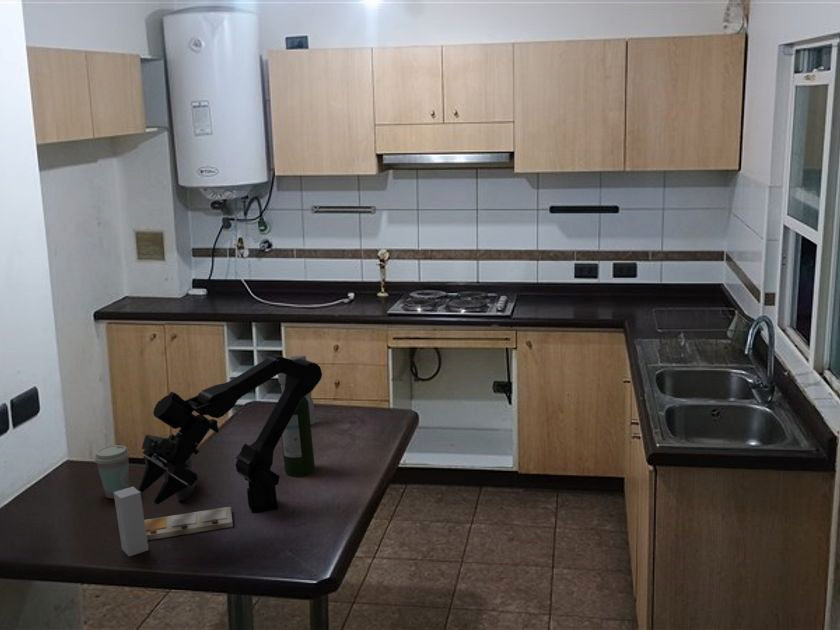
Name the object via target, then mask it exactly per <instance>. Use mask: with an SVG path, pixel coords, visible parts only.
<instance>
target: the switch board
mask: <svg viewBox="0 0 840 630" xmlns="http://www.w3.org/2000/svg"><path fill="white" fill-rule="evenodd" d="M144 521H145V528H146V535H147V541H151V540H157V539H165V538H170V537H171V538H172V537H176V536H181V535H189V534H196V533H200V532H208V531H214V530H220V529H226V528H233V527H234V524H233V513H232V506H226V507H219V508H211V509H206V510H200V511H193V512H187V513H181V514H174V515H169V516H162V517H154V518H149V519H144Z"/></svg>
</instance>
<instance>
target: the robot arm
mask: <svg viewBox="0 0 840 630" xmlns="http://www.w3.org/2000/svg"><path fill="white" fill-rule="evenodd" d="M287 358H288V357H287ZM287 358H286V357H284V356H281V355H278V354H276V353H274V354H270V355H269V356H267V357H266V358H265V359H264V360H262V361H260V362H258V363H257V364H255V365H254V366H252V367H250V368H249V369H247V370H245V371H244V372H242V373H240V374H239V375H237V376H236V377H234V378H233V379H231V380H230V381H227V382H224V383H220V384H215V385H212V386H209V387H208V388H205V389H203V390H202V389H201V391H200V392H199V393H198V394H197V395H196V396H192V397H190V398H188V399H183V398H182V397H181V396H180V395H178V394H177V393H176V392H174V391H170V393H168V395H165V396H164V397H162V398H161V399H160V400H158V402H157V403H156V405H155V407H154V408H153V413H152V415H153V416H154V417H155V418H156V419H157V420H160V421H161V422H162V423H164V424H165V425H167V426H168V427H170V428H172V429H174V430H177V429H178V431H177V432H176V434H174V433H171V434H169V436H168V437H162V436H157V435H150V434H145V437H144V440H143V443H142V446H141V449H142V450H143V451H142V454H143V459H144V463H145V469H144V473H143V476H142V479H141V481H140V484H139V488H138V491H139V492H140V493H141V492H142V493H144V492H145V491H146V490H148V489H149V488H150V487H151V486H152V485H153V484H154V483H155V482H156V481H158V480H159V479H160V478H161V477H162V476H163V475H164V479H165V480H164V481H163V484H162V485H161V487H160V489H159V490H158V492H157V494H156V496H155V499H153V503H154V504H156V505H160V504H161V503H163V502H164V501H166V500H168V499H169V498H171V497H172V496H174V495H175V494H176V495H177V493H178V492H179V491H181V490H183V489H185V488H189V486H188V485H187V484H189V485H191V486H192V487H193V486H194V484H196V482H198V474H197V473H196V472H194V470H193V471H191V470H190V469H188V467H189V466H188V465H186V463H187V462H188V460H189V459H190V458H191V459H192V456H193V455H194V454H195V455H198V453H199V452H200V450H198V447H199V445H200V444H201V443H202V442H203V440H204V438H205V437H206V435H207V434H208V433H209V431H210V430H211V431H213V432H215V433H219V431H220V430H219V426H218V420H216V419H219V418H222V417H224V416H225V415H227V413H228V412H229V411H231V410H233V408H234V407H235V406H236V404H237V402H238V400H241V398H242V397H244V396H245V395H247V394H249V393H250V392H252V391H254V390H256V389H257V388H258V387H260V386H261V385H263V384H265V383H266V382H268V381H269V380H271V379H273V378H274V377H276V376H278V374H279V373H283V374H287V375H286V379H285V389H284V391H283V393H282V392H281V396H280V397H279V399H278V401H277V402H276V404H275V406H274V408H273V409H272V411H271V412H270V413H271V414H269V416H268V418H267V421H266V422H265V424H264V426H263V427H262V430H261V431H260V433H259V434H258V436H257V438H256V440H255V441H254V442H252V444H247V443H244V444H243V445H242V448H241V450H240V452H239V454H238V455H237V456H236V457H235V459H236V461H235V468H236V472H237V473H238V475H240V476H242V477H243V479H244V480H245V481H247V482H248V488H246V497H247V505H248V508H249V509H250V510H251V511H250V512H251V513H258V512H264V511H271V510H277V509H279V504H278V500H277V489H276V488H277V487H276V486H277V485H279V483H280V482H279V481H280V477H281V476H280V475H279V474H277V473H275V472H274V471H272V470H271V468H272V466H273V462H274V452H275V450H276V449H275V448H276V446H278V445H277V444H279V441H280V439H282V437H281V436H282V434H283V432H284V430H285V429H286V427H287V425H288V423H289V421H290V420H291V418H292V416H293V414H294V412H295V411H296V409H297V407H298V405H299V403H300V401H301V400H302V398H303V397H305V396H306V395H307V394H309V393H310V392H311V393H312V392H313V391H314V389H315V388H316V387H317V385H318V384H319V382H320V381H321V380H322V377H323V372H322V368H321V366H320V365H319V364H318V363H315V362H313V361H310V360H307V359H306V360H305V359H297V360H290V359H287ZM193 413H197V415H195V414H193ZM206 416H209V417H211V419H209V418H207V417H206Z"/></svg>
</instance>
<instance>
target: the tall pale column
mask: <svg viewBox="0 0 840 630" xmlns="http://www.w3.org/2000/svg"><path fill="white" fill-rule="evenodd" d="M287 359H290V360H297V359H305V360H307V356H306V355H294V356H290V357H287ZM277 380H278V383H279V384H280V389H281V394H282V393H283V391H284V389H285V374H283V373H279V374H278V375H277ZM305 397H306V399H307V400H308V403H309V413H310V423H311V426H313V424H314V425H315V424H316V417H315V406H314V400H313V397H312V391H311V392H310V393H309V394H307V395H306V396H305Z"/></svg>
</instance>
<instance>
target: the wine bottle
mask: <svg viewBox="0 0 840 630" xmlns="http://www.w3.org/2000/svg"><path fill="white" fill-rule="evenodd" d="M286 375H287V374H285V379H286ZM312 435H313V434H312V425H311V423H310V413H309V403H308V400H307V399H306V397H303V398H302V400H301V401H300V403H299V405H298V407H297V409H296V411H295V412H294V414H293V416H292V418H291V420H290V421H289V423H288V425H287V427H286V429H285V430H284V432H283V434H282V436H281V445H282V446H281V447H282V456H283V464H284V465H283V466H284V472H285V474H286V475H288V476H290V477H303V476H304V477H305V476H308V475H310V474H312V473H313V472H314V471H315V467H316V466H315V456H314V445H313V437H312Z"/></svg>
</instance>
